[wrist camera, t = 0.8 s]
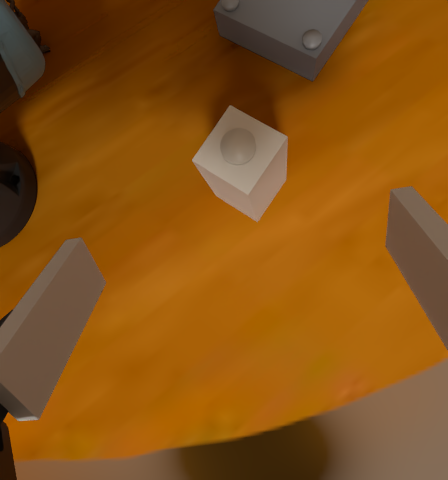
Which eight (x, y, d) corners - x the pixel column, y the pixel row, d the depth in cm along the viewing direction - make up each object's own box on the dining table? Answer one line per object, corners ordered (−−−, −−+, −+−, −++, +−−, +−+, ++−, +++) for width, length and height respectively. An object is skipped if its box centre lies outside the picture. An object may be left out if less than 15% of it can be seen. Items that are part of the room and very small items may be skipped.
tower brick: (216, 195, 40) (189, 156, 28) (243, 155, 40) (228, 99, 29) (257, 222, 38) (247, 192, 27) (286, 179, 39) (287, 132, 27)
